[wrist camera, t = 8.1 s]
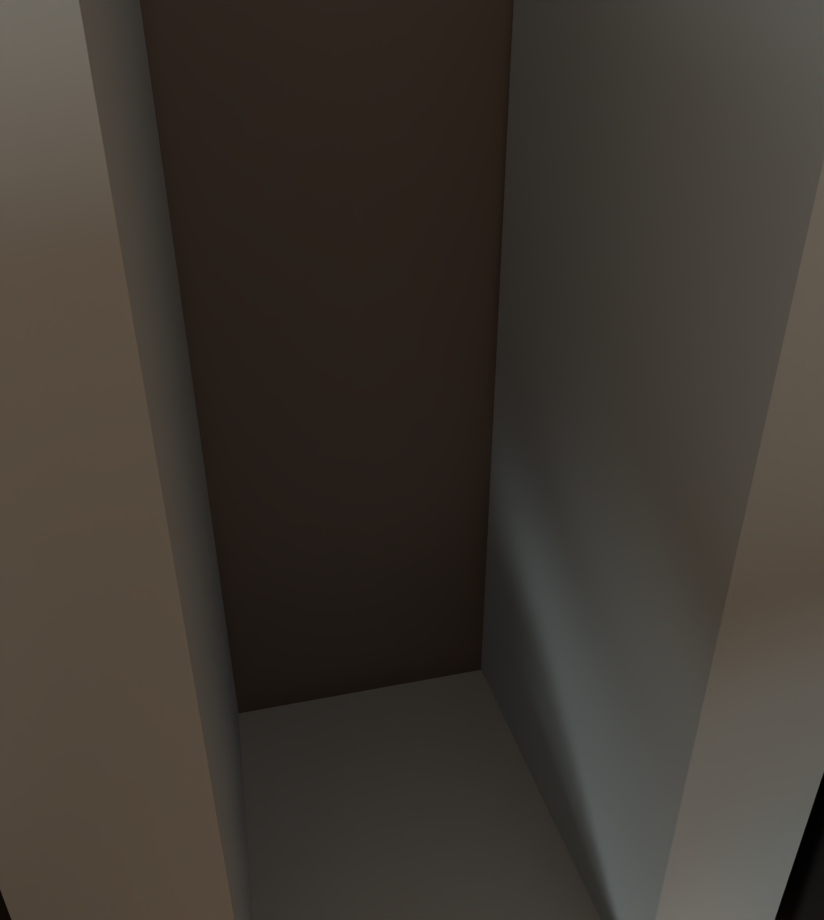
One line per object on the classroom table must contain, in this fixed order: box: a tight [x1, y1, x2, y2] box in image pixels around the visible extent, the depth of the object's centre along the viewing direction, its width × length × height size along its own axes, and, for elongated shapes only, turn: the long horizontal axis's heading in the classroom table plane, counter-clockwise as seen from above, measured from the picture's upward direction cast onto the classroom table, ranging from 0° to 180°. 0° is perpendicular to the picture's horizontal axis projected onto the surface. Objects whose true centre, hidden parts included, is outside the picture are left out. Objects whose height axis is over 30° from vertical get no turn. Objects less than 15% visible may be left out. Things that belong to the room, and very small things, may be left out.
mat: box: [140, 0, 514, 713], centre depth 8 cm, size 16×10×1 cm, turn 0°
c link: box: [0, 0, 824, 920], centre depth 6 cm, size 13×6×4 cm, turn 0°
